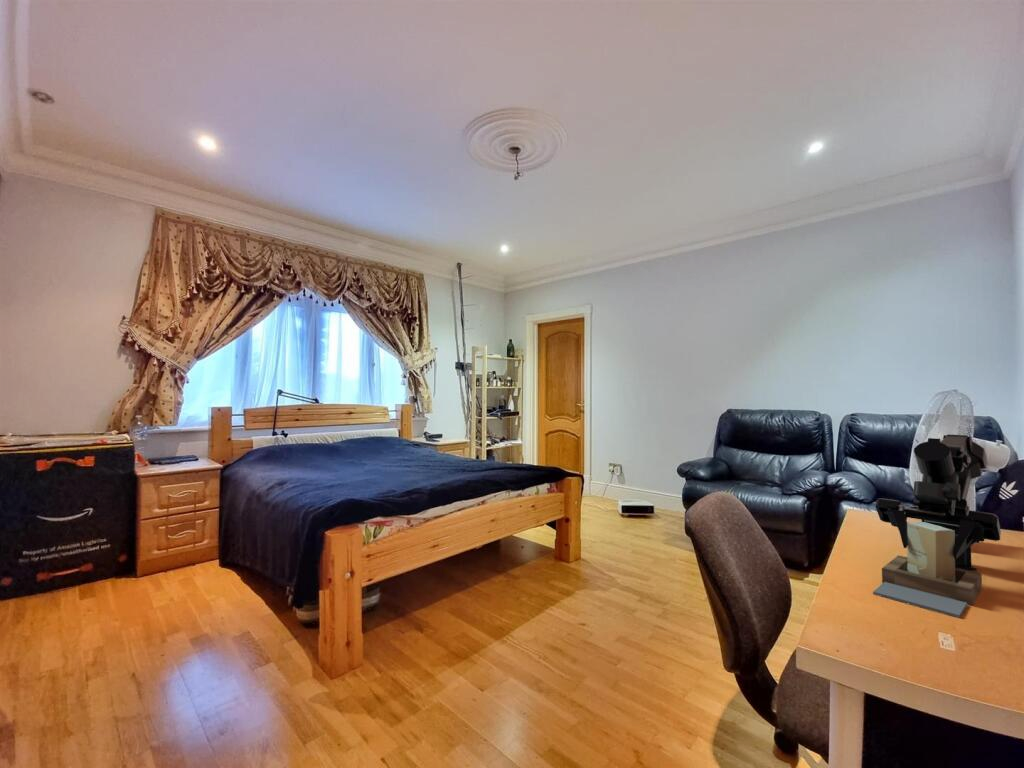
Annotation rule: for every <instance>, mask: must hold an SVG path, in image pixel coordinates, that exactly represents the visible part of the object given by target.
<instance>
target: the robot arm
mask: <svg viewBox="0 0 1024 768" xmlns="http://www.w3.org/2000/svg"><path fill="white" fill-rule="evenodd" d="M942 437H943V438H942V440H941V439H940V438H931V437H928V438H927V441H923V442H921V443H919V444H917V445H916V446H915V447H914V448H913V453H914V456H915V461H916V464H917V468H918V470H919V472H920V474H921V475H922V477H921V478H922V479H921V481H920V480H915V481H914V482H913V493H912V494H913V495H912V497H914V500H913V503H914V506H916V508H911V507H905V506H904V505H902V503H901V500H897V499H890V498H881V497H880V498H879V499H877V500H876V501H875V509H876V512H877V514H878V517H879V520H880V521H882V522H884V523H889V524H890V525H891V526H893V527H896V528H897V529H898V532H899V535H900V539H901V542H902V546H903V549H907V522H908V518H909V519H914V520H921V522H926V523H930V524H933V525H938V526H941V527H944V528H947V529H951V530H954V531H955V546H954V553H953V556H954V558H955V568H959V569H964V570H969V571H977V567H975V566H974V565H972V545H974V544H979V543H980V542H981V543H983V542H984V541H985V540H987V541H993V542H997V541H1001V534H1002V533H1001V524H1000V521H999V517H998V515H996V514H995V513H993V512H992V513H991V512H984V511H979V510H978V511H977V510H970V507H969V506H968V501H967V497H968V493H969V489H970V485H971V481H972V480H973V479H976V478H980V477H981V476H982V474H983V471H984V470H987V466H988V464H987V463H988V461H987V455H986V450H985V448H984V447H983V446H981V445H979V444H977V442H975V441H973V438H972V436H969V435H967V434H950V433H949V434H946V435H945V434H943V436H942Z"/></svg>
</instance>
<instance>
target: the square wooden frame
mask: <svg viewBox="0 0 1024 768" xmlns="http://www.w3.org/2000/svg"><path fill="white" fill-rule="evenodd" d="M907 559H908V558H907V557H906V556H903V555H897V556H895V557H894V558H893V559H892V560H890V561H889V562H887V563H886V565H884V566H882V568H881V582H882V584H883V583H884V582H888V583H892V584H896V585H899V586H903V587H907V588H911V589H915V590H919V591H923V592H927V593H931V594H935V595H939V596H943V597H946V598H950V599H954V600H958V601H962V602H966V603H967V606H971V607H972V606H973V604H974V603H975V601H976V599H977V598H978V596H979V594H980V593H981V591H982V590H983V580H982V579H983V578H982V572H978V571H974V570H970V569H960V568H955V582H951V581H946V580H942V579H938V578H933V577H929V576H925V575H921V574H916V573H912V572H908V571H907Z"/></svg>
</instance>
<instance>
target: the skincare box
mask: <svg viewBox="0 0 1024 768" xmlns="http://www.w3.org/2000/svg"><path fill="white" fill-rule="evenodd" d="M954 546H955V531H954V530H951V529H947V528H944V527H941V526H938V525H933V524H930V523H926V522H922V521H911V522H908V521H907V548H906V551H907V555H906V556H907V558H908V559H907V571H908V572H912V573H916V574H921V575H925V576H929V577H933V578H938V579H942V580H946V581H951V582H955V558H954V556H953V553H954Z"/></svg>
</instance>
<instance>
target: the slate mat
mask: <svg viewBox="0 0 1024 768" xmlns="http://www.w3.org/2000/svg"><path fill="white" fill-rule="evenodd" d="M872 594H873V595H875V596H878V595H879V597H882V598H885V599H890V600H893V601H896V602H900V601H901V602H900V603H903V602H905V604H907V603H909V604H908V605H911V606H914V607H917V608H918V607H919V608H922V609H926V610H930V611H932V612H936V613H940V614H943V615H947V616H951V617H954V618H958V619H960V618H961V616H962V615H963V614H964V612H965V610H966V608H967V607H968V605H967V603H966V602H962V601H958V600H954V599H950V598H946V597H943V596H939V595H935V594H931V593H927V592H923V591H919V590H915V589H911V588H907V587H903V586H899V585H896V584H892V583H888V582H884V583H882V584H880V585H879V586H877V588H875V589H874V590H873V591H872Z"/></svg>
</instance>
